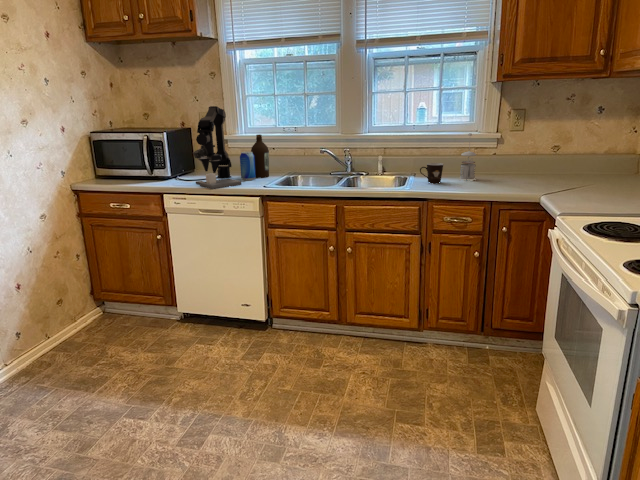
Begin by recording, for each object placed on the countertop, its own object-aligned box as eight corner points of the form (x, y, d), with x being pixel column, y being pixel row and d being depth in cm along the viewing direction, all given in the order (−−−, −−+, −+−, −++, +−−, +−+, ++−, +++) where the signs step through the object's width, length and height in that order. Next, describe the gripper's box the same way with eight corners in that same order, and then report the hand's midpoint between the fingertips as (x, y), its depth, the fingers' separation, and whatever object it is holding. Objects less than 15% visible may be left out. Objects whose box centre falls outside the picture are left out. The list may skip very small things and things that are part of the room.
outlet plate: (228, 181, 276) (228, 178, 276) (241, 184, 266) (241, 181, 265) (200, 186, 265) (199, 182, 265) (212, 189, 255) (211, 185, 254)
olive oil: (250, 178, 287) (247, 135, 280) (255, 175, 297) (253, 134, 290) (267, 178, 285) (264, 135, 278) (272, 175, 295) (270, 133, 288)
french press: (474, 177, 269) (477, 132, 261) (479, 181, 258) (482, 134, 250) (456, 178, 270) (459, 132, 262) (460, 181, 259) (463, 134, 251)
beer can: (258, 179, 282) (257, 151, 278) (247, 181, 276) (245, 153, 272) (249, 177, 288) (247, 151, 283) (238, 179, 282) (236, 152, 277)
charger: (213, 183, 268) (212, 173, 266) (216, 184, 265) (215, 173, 263) (206, 184, 266) (205, 173, 264) (210, 185, 263) (208, 174, 261)
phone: (201, 182, 275) (201, 180, 275) (207, 184, 270) (206, 182, 270) (195, 183, 273) (195, 181, 273) (201, 185, 268) (201, 183, 268)
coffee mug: (443, 181, 260) (444, 163, 257) (440, 184, 252) (441, 165, 249) (422, 180, 264) (423, 162, 261) (418, 183, 257) (419, 164, 254)
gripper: (186, 143, 261) (189, 172, 265) (202, 145, 247) (204, 175, 251) (205, 141, 267) (207, 169, 272) (221, 143, 254) (223, 173, 258)
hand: (210, 172), depth 263 cm, fingers open, 9 cm apart
